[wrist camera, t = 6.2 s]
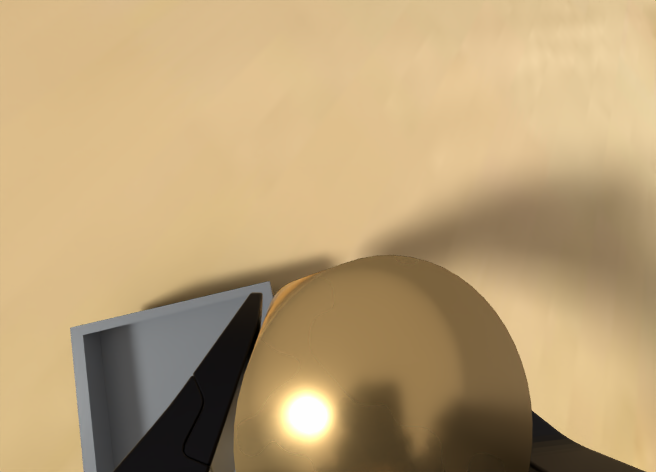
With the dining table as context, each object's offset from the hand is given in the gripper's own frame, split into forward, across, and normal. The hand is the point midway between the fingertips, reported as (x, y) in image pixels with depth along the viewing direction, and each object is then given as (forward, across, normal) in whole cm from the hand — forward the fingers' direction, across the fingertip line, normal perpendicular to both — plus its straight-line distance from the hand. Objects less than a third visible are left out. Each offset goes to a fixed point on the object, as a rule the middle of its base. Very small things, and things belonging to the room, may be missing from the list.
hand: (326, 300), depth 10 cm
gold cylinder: (+4, 0, +6) cm, 7 cm away
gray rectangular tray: (+4, +6, +15) cm, 17 cm away
